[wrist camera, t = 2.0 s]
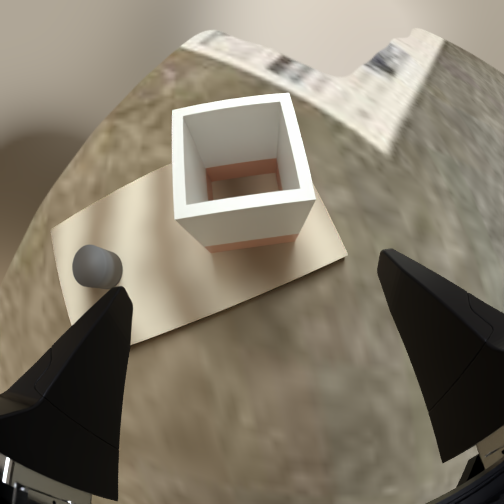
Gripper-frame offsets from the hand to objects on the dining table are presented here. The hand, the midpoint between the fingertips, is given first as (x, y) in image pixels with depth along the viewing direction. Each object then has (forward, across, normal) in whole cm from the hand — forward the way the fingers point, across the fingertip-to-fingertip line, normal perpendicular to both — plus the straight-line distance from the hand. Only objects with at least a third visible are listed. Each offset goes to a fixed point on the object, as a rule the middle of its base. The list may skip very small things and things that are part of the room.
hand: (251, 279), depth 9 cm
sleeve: (+13, 0, +4) cm, 13 cm away
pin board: (+12, +6, +6) cm, 15 cm away
